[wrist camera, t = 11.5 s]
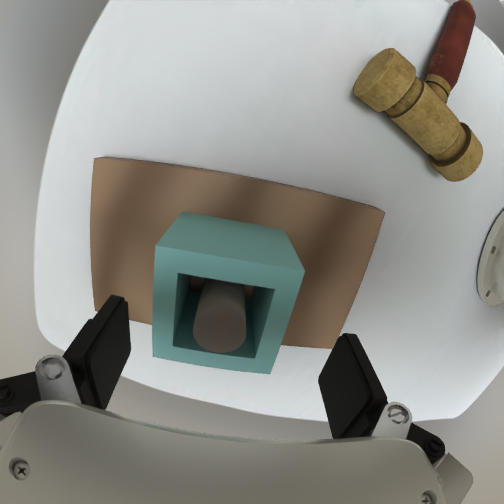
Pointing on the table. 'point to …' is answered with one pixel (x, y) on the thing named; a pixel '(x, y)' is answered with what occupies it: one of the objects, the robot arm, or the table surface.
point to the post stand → (238, 209)
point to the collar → (226, 269)
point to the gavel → (428, 97)
